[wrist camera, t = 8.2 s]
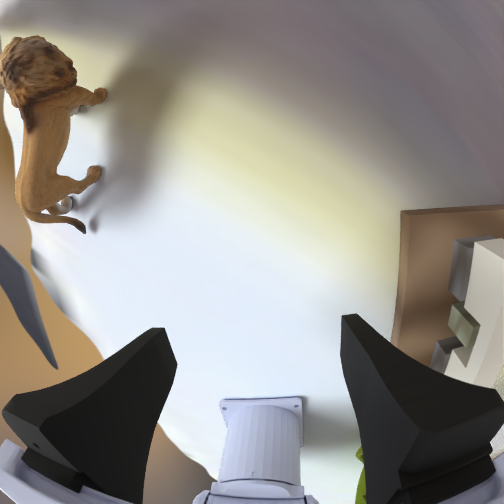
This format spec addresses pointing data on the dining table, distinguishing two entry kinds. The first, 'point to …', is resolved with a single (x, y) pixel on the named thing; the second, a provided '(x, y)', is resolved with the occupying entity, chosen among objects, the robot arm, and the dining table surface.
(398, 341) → the brown rectangular board
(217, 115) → the dining table surface
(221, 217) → the dining table surface
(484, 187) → the dining table surface
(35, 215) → the lion figurine
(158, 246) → the dining table surface
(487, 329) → the cream bar
